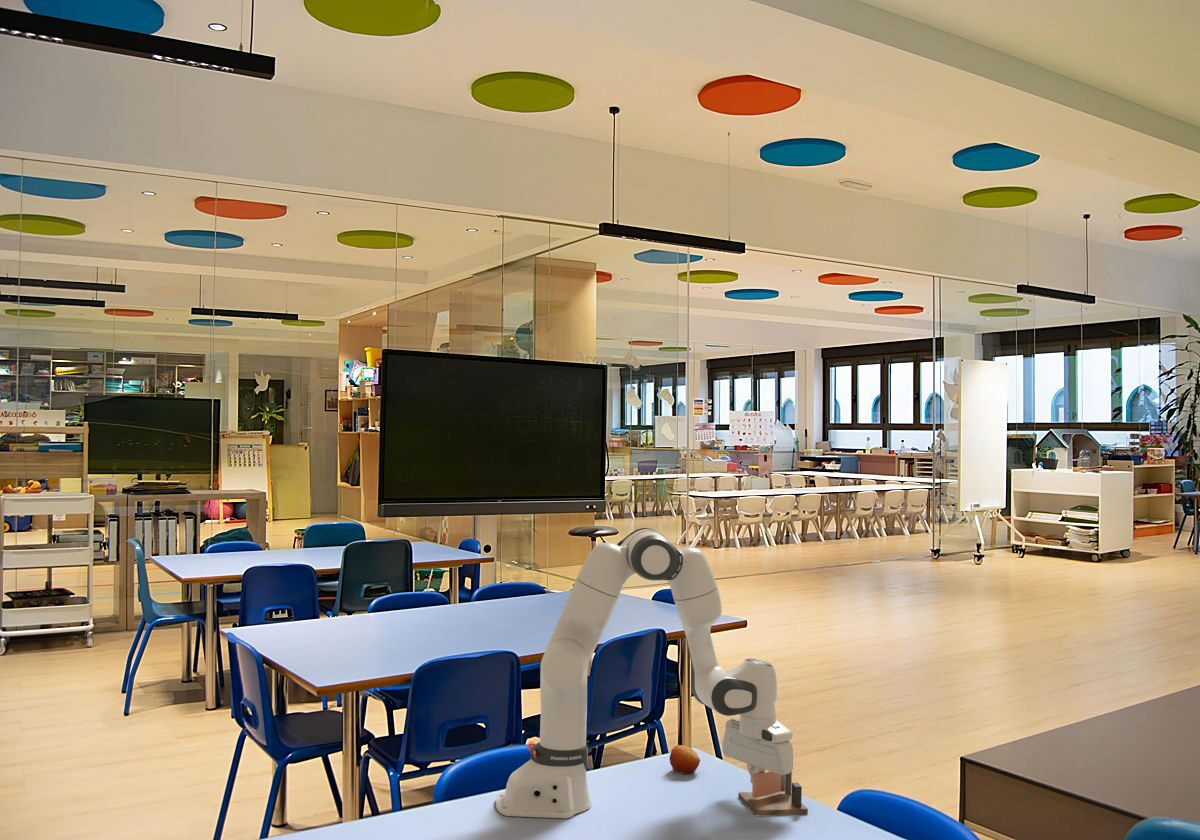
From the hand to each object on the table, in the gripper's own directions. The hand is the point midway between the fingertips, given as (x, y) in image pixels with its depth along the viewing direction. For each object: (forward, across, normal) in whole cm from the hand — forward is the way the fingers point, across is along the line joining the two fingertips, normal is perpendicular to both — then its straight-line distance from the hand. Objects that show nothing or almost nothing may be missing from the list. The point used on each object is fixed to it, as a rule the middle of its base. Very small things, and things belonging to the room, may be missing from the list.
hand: (755, 783), depth 235 cm
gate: (+2, +2, +2) cm, 4 cm away
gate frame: (+4, +4, +1) cm, 6 cm away
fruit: (+5, -26, +1) cm, 26 cm away
